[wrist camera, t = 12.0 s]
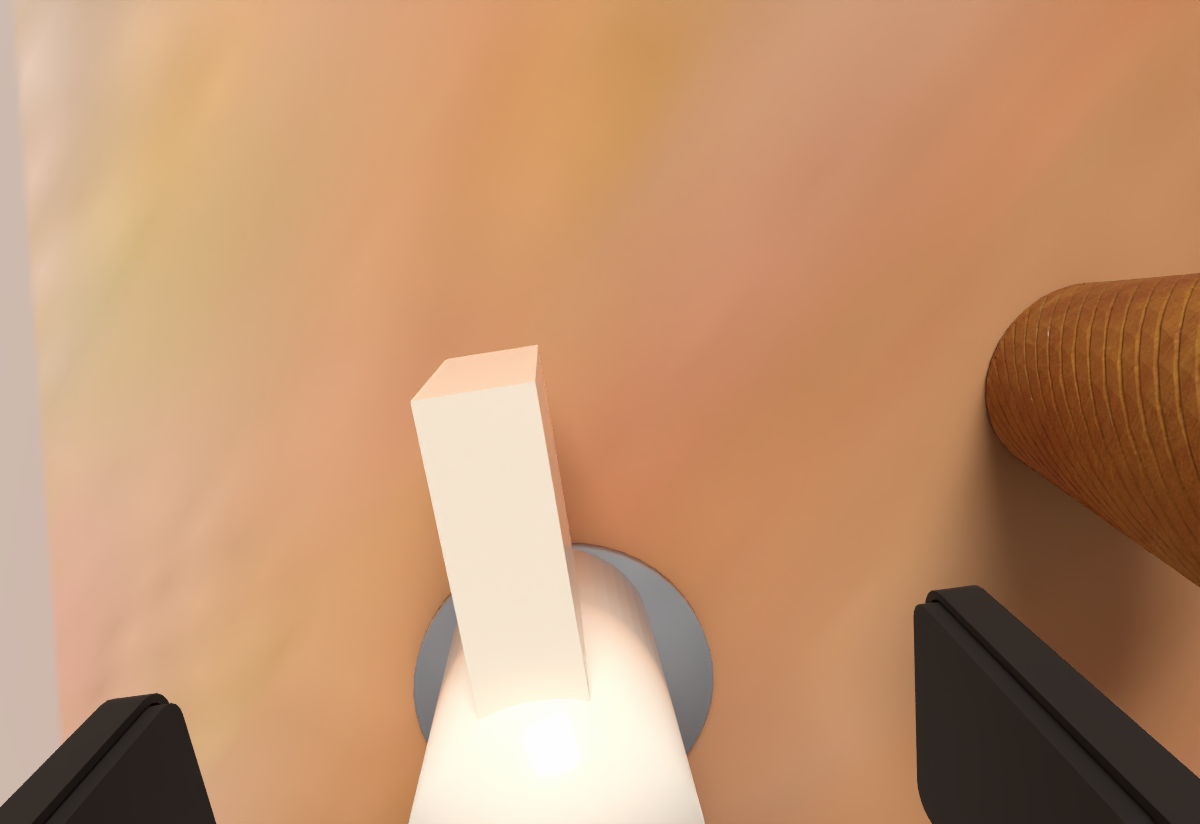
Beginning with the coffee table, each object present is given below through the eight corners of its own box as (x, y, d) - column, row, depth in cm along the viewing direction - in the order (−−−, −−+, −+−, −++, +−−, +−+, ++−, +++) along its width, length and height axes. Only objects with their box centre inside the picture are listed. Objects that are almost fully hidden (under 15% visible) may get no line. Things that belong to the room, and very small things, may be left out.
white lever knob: (661, 706, 25) (723, 956, 16) (474, 739, 25) (436, 1010, 16) (605, 321, 22) (645, 374, 13) (391, 355, 22) (287, 431, 13)
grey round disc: (695, 522, 24) (698, 529, 24) (721, 779, 27) (725, 791, 26) (391, 566, 24) (387, 574, 23) (444, 824, 26) (442, 837, 26)
